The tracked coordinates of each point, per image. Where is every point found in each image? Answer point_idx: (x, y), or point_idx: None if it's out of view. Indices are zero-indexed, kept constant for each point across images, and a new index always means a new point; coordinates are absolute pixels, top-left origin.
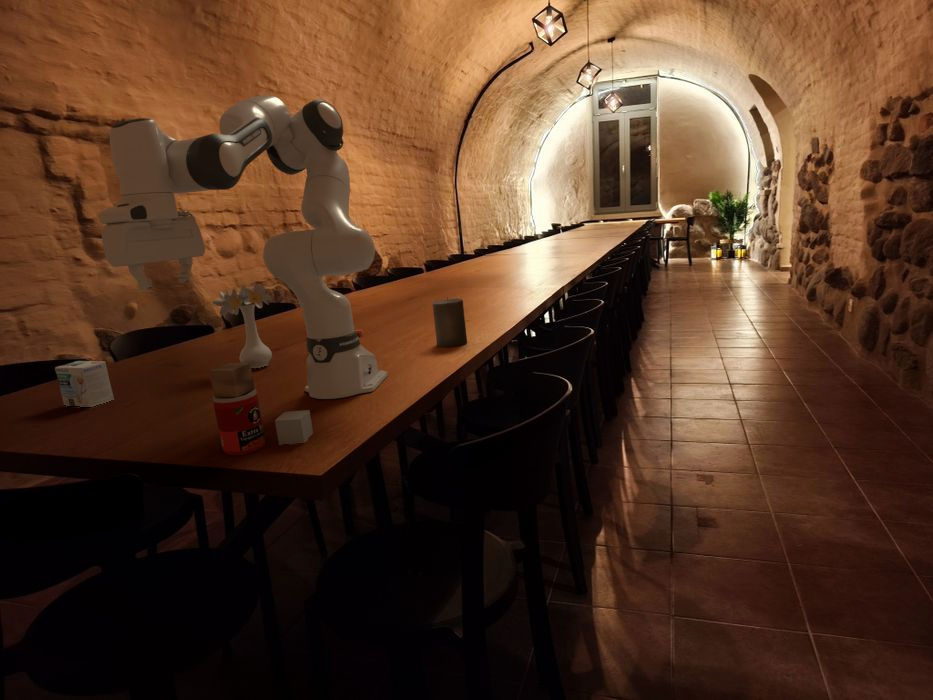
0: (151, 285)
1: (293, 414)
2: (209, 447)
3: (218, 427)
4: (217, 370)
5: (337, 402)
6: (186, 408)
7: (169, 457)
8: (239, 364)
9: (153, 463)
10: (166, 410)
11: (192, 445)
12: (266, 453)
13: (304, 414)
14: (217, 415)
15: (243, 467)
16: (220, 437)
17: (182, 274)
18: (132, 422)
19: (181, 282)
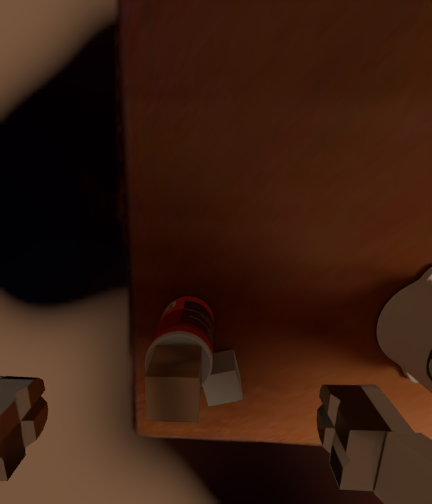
0: (30, 437)
1: (224, 388)
2: (184, 268)
3: (161, 320)
4: (145, 393)
5: (363, 348)
6: (357, 69)
7: (146, 235)
8: (188, 408)
9: (125, 228)
10: (347, 26)
11: (187, 237)
12: None
13: (225, 402)
14: (153, 336)
15: (138, 352)
16: (164, 313)
17: (337, 470)
18: (278, 7)
19: (320, 398)
